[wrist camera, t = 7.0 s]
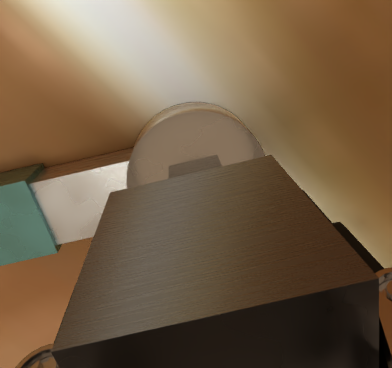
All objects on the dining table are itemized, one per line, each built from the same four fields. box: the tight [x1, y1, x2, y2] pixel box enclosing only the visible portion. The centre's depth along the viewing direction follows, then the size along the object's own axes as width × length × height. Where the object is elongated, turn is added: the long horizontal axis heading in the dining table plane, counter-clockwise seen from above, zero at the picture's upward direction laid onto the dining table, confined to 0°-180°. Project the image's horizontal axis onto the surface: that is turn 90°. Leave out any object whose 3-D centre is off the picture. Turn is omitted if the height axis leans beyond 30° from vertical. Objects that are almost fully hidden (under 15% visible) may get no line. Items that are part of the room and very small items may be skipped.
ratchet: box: [0, 102, 265, 266], centre depth 16 cm, size 16×7×7 cm, turn 102°
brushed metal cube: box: [51, 155, 379, 368], centre depth 9 cm, size 5×5×6 cm
